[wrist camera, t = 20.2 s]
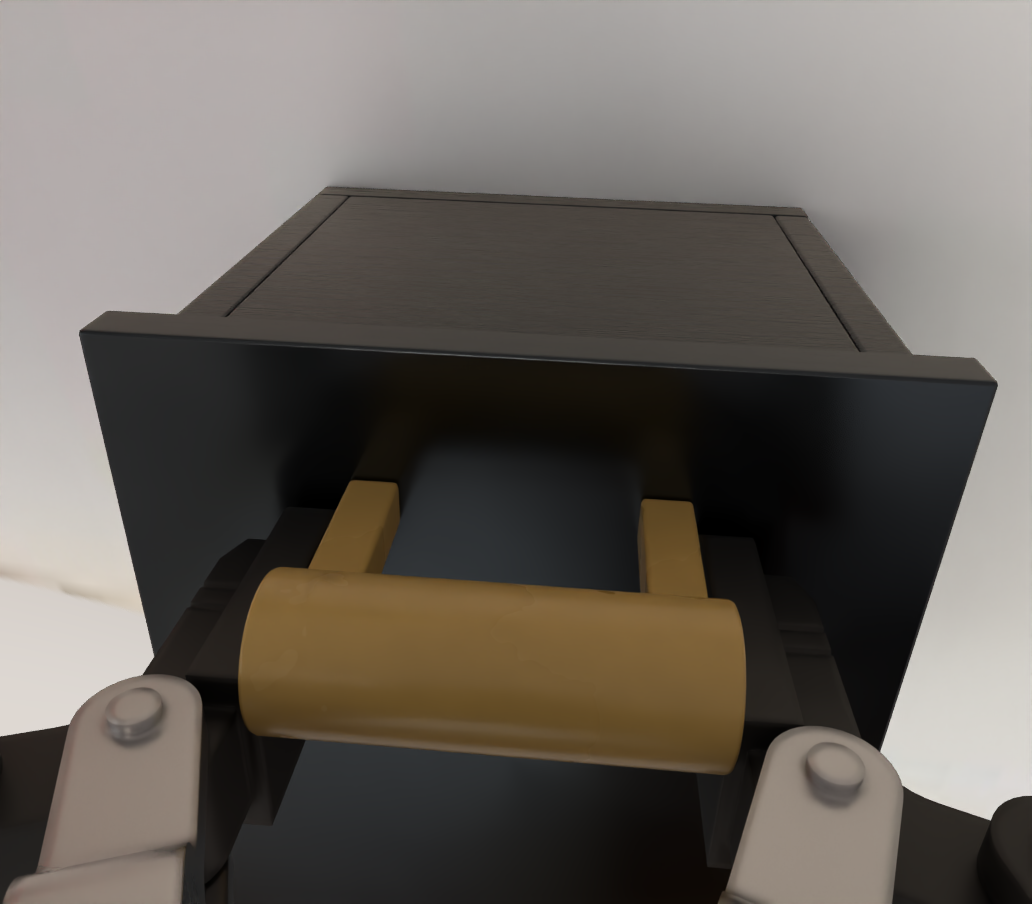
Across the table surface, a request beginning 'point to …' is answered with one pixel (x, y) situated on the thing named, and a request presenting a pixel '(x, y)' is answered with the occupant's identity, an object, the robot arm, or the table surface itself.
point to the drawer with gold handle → (520, 576)
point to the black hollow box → (555, 271)
